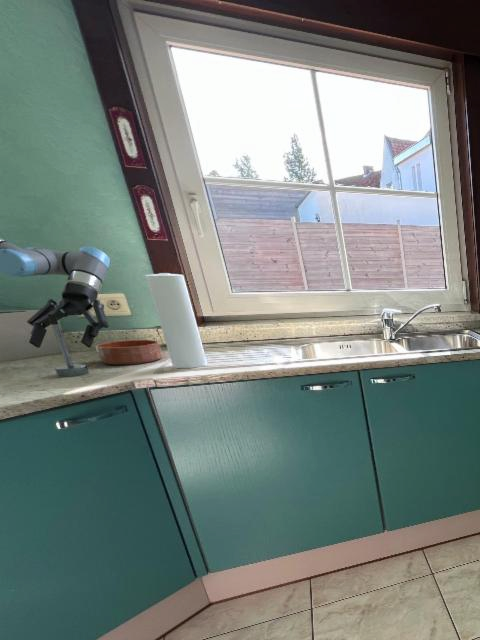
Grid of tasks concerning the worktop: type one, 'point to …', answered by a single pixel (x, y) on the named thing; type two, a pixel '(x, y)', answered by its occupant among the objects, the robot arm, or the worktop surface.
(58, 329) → the potato masher
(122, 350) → the bowl
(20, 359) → the worktop surface
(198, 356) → the cylinder container
